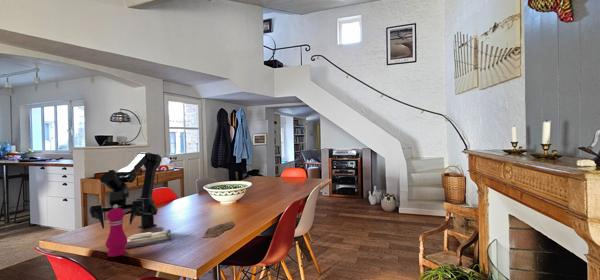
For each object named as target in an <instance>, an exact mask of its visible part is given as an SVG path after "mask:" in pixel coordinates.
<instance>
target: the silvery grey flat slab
mask: <svg viewBox="0 0 600 280" xmlns="http://www.w3.org/2000/svg"><path fill="white" fill-rule="evenodd" d="M166 236H167V239H163V240H157V241H152V242H146V243H141V244H135V245H129V246H125V247H126V249H129V248H130V249H131V248H135V247H139V246H140V247H141V246H147V245H151V244H156V243H162V242H168V241H171V240H172V233H171V229H167V232H166Z"/></svg>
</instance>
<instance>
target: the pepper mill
mask: <svg viewBox="0 0 600 280" xmlns="http://www.w3.org/2000/svg"><path fill="white" fill-rule="evenodd" d="M113 208H114V209H111V210H110V211H109V212H106V213H107V214H106V218H107V220H108V225H109V234H108V237H107V238H106V241H105V247H106V248H107V249H108V250H107V256H108V257H110V258H115V257H118V256H122V255H124V254H126V253H125V252H127V248H126V247H125V245H126V244H127V238H128V237H127V235H126V233H125V231H124V227H123V223H124V217H125V210H123V209H121V208H118V205H117V204H115V205H114V206H113ZM121 254H122V255H121Z"/></svg>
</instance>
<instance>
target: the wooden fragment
mask: <svg viewBox="0 0 600 280" xmlns="http://www.w3.org/2000/svg"><path fill="white" fill-rule="evenodd" d="M232 221H233V220H231V221H227V222H224V223H220V224H217V225H214V226H212V227H209V228H207V230H206V231H205V233H204V235H203V236H202V239H209V238H210V237H211V238H215V237H220V235H221V234H223V233H224V232H225V231H229V230H232V229H233V227H235V226H236V225H235V223H234V221H233V222H232Z"/></svg>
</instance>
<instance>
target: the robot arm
mask: <svg viewBox="0 0 600 280" xmlns="http://www.w3.org/2000/svg"><path fill="white" fill-rule="evenodd" d="M161 163H162V156H161V155H160V154H159V153H156V154H155V153H151V152H148V151H146V152H145V151H142V152H138V153H137V156H135V158H134V159H133V160H132V161H131V162H130V163H129V164H128V165H127V166H125V167H123V168H121V169H119V170H117V171H116V170H114V169H109V170H108V171H107V172H105V173H103V174H102V175H101V176H100V178H99V181H100V183H102V184H103V185H104V186H105V187H106V188H107V189H108V190H111V192H109V199H108V200H109V202H108V204H109V206H103V204H95V205H93V204H92V205H91V206H90V207H89V213H90V216H91V218H92V219H96V220H98V221H99V222H100V225H101V228H102V230H103V229H105V213H108V212H109V211H110V210H111V209H114V208H113V206H114V205H115V204H117V205H118V208H121V209H123V210H124V211H126V210H130V216H129V225H130V226H131V225H132V224H133V221H134V219H135V218H136V217H140V225H138V226H137V228H139V229H143V230H144V229H145V230H146V229H150V228H153V227H156V226H157V224H156V223H155V222H154V219H155V218H154V216H156V215H157V214H158V208H157V207H156V205H155V200H154V198H153V190H154V183H155V177H156V171H157V170H158V169H159V167H161ZM143 166H144V169H145V172H144V178H143V184H142V191H141V195H140V197H139V198H137V199H135V200H132V203H129V204H127V199H128V198H130V189H129V187H128V184H131V183H134V181H136V179H137V177H138V171H140V169H141V168H142V167H143Z"/></svg>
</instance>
